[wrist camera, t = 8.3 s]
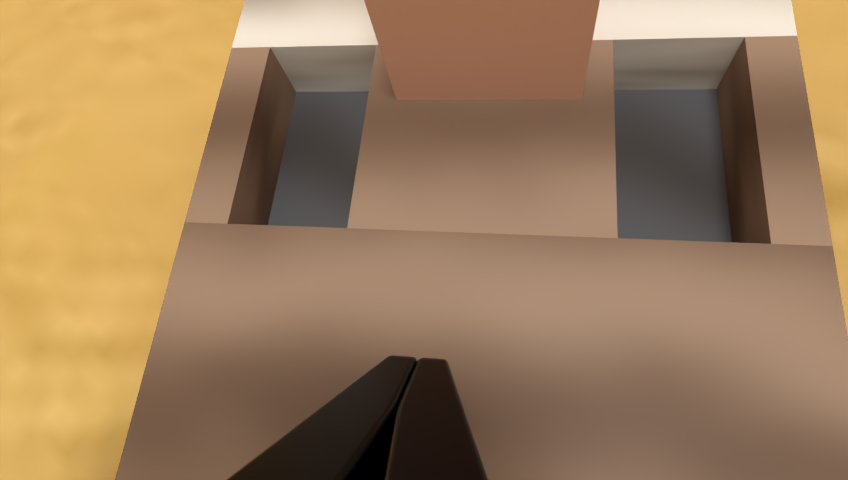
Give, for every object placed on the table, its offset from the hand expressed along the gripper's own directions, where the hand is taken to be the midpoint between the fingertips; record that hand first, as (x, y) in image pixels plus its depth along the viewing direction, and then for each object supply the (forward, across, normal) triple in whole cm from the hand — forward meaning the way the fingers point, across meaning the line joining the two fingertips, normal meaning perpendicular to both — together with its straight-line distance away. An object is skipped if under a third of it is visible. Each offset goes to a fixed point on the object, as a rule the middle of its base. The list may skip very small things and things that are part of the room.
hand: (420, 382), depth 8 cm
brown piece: (+12, 0, +3) cm, 12 cm away
